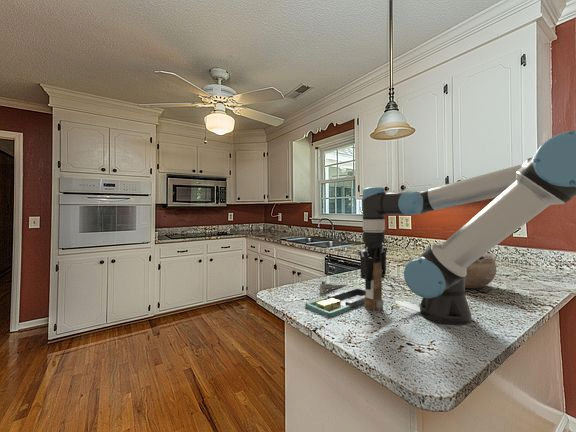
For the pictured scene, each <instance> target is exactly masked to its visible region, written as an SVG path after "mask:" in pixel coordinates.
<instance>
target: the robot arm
mask: <svg viewBox="0 0 576 432" xmlns="http://www.w3.org/2000/svg"><path fill="white" fill-rule="evenodd" d="M385 190H386V189H385V188H384V187H382V186H371V187H366V188H363V190H362V199H361V202H362V231H363V232H362V242H363V243H364V249H363V250H359V252H358V253H359V257H360V279H363V280H365V288H366V297H367V298H370V299H374V280H372V275H373V263H374V261H376V262H382V279H384V278H385V276H386V275H387V251H388V248H387V247H384V246H383V243H384V244H385V241H386V236H385V232H384V231H385V230H386V222H385V221H386V219H385V218H386V217H385V216H386V215H387V216H388V215H394V216H397V215H399V216H415V215H416V216H417V215H422V214H423V215H424V214H426V213H428V212H429V213H430V212H433V211H438V210H441V209H447V208H453V207H456V206H461V205H466V204H471V203H475V202H480V201H486V200H490V199H492V201H491V202H489V203H488V204H487V205H486V206H485V207H484V208H483V209H481V210H480V211H479V212H478V213H477V214H476V215H474V216H473V217H472V218H470V220H469V221H468V222H466V223H465V224H464V225H462V227H460V228H459V229H458V230H457V231H456V232H454V233H453V234H452V235H451V236H450V237H449V238H447V239H446V240H445V241H444V242H443V243H441V244H437V243H435V244H432V245H430V247H429V246H428V247H426V248H425V251H424V252H422V253H421V254H420V255H419V256H418V257H414V258H413V259H411V260H410V261H409V262H408V263H406V265H405V267H404V270H403V278H404V283H405V284H406V285H407V288H408V289H409V290H410V291H411V292H412V293H414V294H415V295H417V296H418V297H421V298H422V299H421V302H420V304H419V313H420V315H421V316H423V317H424V318H425V319H427V320H430V321H433V322H436V323H440V324H446V325H453V326H454V325H455V326H461V325H462V326H463V325H467V324H470V323H471V322H472V312H471V309H470V307H469V306H470V305H469V303H468V301H467V300H468V299H467V297H466V288H465V276H466V275H467V267H468V266H469V265H471V264H472V263H473V262H475V261H476V260H477V259H479V258H480V257H481V256H483V255H484V254H488V252H489V251H491V250H492V249H493V248H495V247H496V246H497V245H499V244H500V243H501V242H503V241H504V240H505V239H507V238H508V237H510V236H511V235H512V234H514V233H515V232H516V231H517V230H519V229H520V228H521V227H523V226H524V225H526V224H527V223H529V221H531V220H532V219H533V218H535V217H536V216H538V215H539V214H540V213H542V212H543V211H544V210H545V209H547V208H548V207H550V206H552V205H565V204H566V203H568V202H569V201H571V200H572V199H574V198H575V197H576V130H575V129H574V130H569V131H565V132H561V133H559V134H556V135H554V136H552V137H550V138H548V139H547V140H545V141H544V142H543V143H541V145H540V146H538V149H537V150H536V151H535V153H534V155H533V156H532V157H529V158H527V159H526V160H525V161H524V162H523V163H521V164H517V165H514V166H510V167H507V168H502V169H499V170H495V171H492V172H488V173H485V174H480V175H476V176H473V177H469V178H466V179H462V180H458V181H455V182H451V183H448V184H444V185H440V186H436V187H433V188H429V189H425V190H422V191H415V190H414V191H413V190H411V191H410V190H406V191H395V192H394V191H392V192H386V191H385ZM365 288H364V289H365Z"/></svg>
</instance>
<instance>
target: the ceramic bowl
mask: <svg viewBox="0 0 576 432" xmlns="http://www.w3.org/2000/svg"><path fill="white" fill-rule="evenodd" d="M497 257H498V256H497V255H495V254H494V253H493V254H492V253H491V254H489V253H485V254H484V255H483V256H481V257H480V258H479V259H477V260H476V261H475V262H473V263H472V264H471V265H469V266H468V267H467V275H466V276H465V289H482V288H484V287H487V286H488V285H489V284H490V283H491V282H493V280H494V279H495V276H496V274H497V265H496V260H497Z"/></svg>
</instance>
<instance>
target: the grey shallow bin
mask: <svg viewBox="0 0 576 432" xmlns="http://www.w3.org/2000/svg"><path fill="white" fill-rule="evenodd" d="M364 297H365V288H360V287H356V286H354V287H352V288H351V287H350V288H348V289H345V290H342V291H337V292H335V293H331V294H328V295H327V296H326V298H327V299H331V298H334V299H337V300H340V301H341V307H344V306H347V305H349V306H350V310H354V309H355V308H358V307H362V306H363V305H364Z"/></svg>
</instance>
